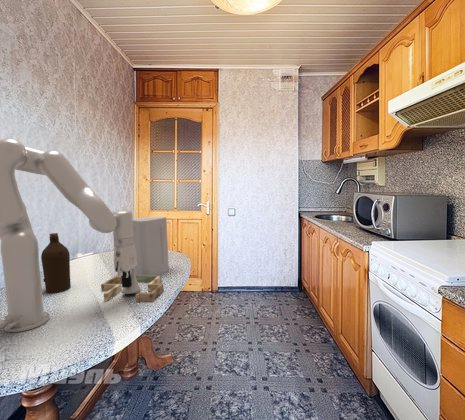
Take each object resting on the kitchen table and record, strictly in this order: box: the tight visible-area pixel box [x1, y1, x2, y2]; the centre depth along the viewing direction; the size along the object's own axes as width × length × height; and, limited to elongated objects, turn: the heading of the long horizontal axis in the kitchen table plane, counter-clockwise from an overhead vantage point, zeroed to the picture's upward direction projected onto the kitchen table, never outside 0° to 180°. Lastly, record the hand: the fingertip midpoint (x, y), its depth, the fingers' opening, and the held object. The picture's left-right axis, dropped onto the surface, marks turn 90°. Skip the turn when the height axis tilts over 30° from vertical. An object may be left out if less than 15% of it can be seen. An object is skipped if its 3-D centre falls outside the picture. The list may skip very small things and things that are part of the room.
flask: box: [121, 268, 142, 295], centre depth 119 cm, size 7×7×10 cm
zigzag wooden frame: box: [100, 274, 165, 303], centre depth 123 cm, size 23×27×3 cm
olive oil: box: [40, 232, 72, 294], centre depth 127 cm, size 11×11×25 cm
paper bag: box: [133, 216, 170, 275], centre depth 145 cm, size 19×15×28 cm
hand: (126, 286), depth 116 cm, fingers closed
